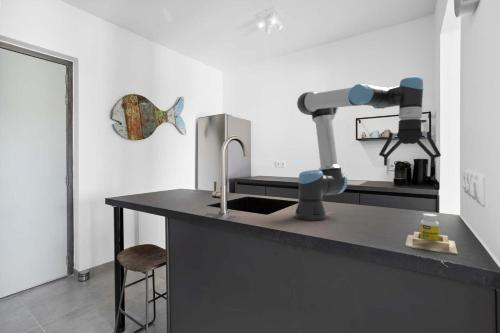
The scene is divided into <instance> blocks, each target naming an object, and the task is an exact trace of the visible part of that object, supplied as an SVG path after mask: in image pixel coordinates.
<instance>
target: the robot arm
mask: <svg viewBox="0 0 500 333" xmlns="http://www.w3.org/2000/svg"><path fill="white" fill-rule="evenodd" d="M423 80H424V79H423V78H422V77H420V76H409V77H404V78H402V79H401V80H400V81H399V82H400V83H399V85H398V86H394V87H388V88H387V87H380V86H377V85H376V86H374V85H369V84H366V83H363V84H362V83H357V84H355V85H354V86H352V87H346V88H339V89H333V90H327V91H323V92H316V91H306V92H303V93H302V94H300V95H299V97H298V99H297V102H296V105H297V106H296V107H297V108H298V110H299V112H300V113H302V114H304V115H307V116H311V119H312V122H314V123H315V129H316V136H317V145H318V155H319V163H320V167H319V168H318V169H313V170H312V169H311V170H306V171H305V170H304V171H301V172H300V173H299V174H298V181H297V182H298V203H297V206H296V209H295V211H294V212H295V213H294V215H295V216H294V217H295V218H296V219H298V220H299V219H300V220H303V221H324V220H326V219H327V213H326V212H327V211H326V209H325V206H324V203H323V196H329V195H330V196H332V195H338V194H341V193H343V192H344V191H345V190H346V189H347V187H348V177H347V174H345V172H342V167H341V166H340V165H339V164H338V158H337V157H338V156H337V150H336V141H335V133H334V127H333V126H334V125H333V120H334V119H335V116H336V114H337V112H338V109H339V108H343V107H344V108H346V107H355V106H356V107H358V106H368V107H369V106H371V107H373V108H374V109H375V110H376V109H381V110H382V109H386V108H391V107H392V108H393V107H398V108H399V110H398V119H399V120H398V130H397V131H398V132H396V133H394V132H389V133H388V138H387V140H386V141H385V143H384V145H383V147H382V149H381V150H380V152H379V154H378V156H380V157H383V166H385V167H386V175H390V173H391V170H390V169H391V157H389V156H390V155H391V154H392V153H393V152H394V151H395V150H397V149H398V147H399V146H400V145H401V144H403V145H408V144H411V145H414V144H417V145H418V146H419V147H420V148H421V149H422V150H423V151H424V153H426V154H427V155H428V157H429V158H428V160H427V177H431V168H434V167H435V163H436V162H435V159H436V158H440V157H441V156H442V155H441V152H440V151H439V149H438V147H437V145H436V143H435V141H434V139H433V137H432V132H431V131H426V132H422V122H423V121H422V118H423V97H424V96H423V94H424V93H423V92H424V81H423ZM395 137H396V138H398V140H397V142H396V143H394V145H393V146H392V147H391V148H390V149H388V148H389V146H390V144H391V142H392V141H393V139H396V138H395ZM422 137H424V138H425V139H427V140H428V142H429V144H430V146H431V148H432V150H433V151H434V153H435V154H433V152H432V151H431V150H429V148H428V147H426V145H425V144H424V143H423V142H422V141H421V140H420V139H421V138H422ZM387 149H388V151H387ZM386 151H387V152H386Z"/></svg>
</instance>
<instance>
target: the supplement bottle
mask: <svg viewBox="0 0 500 333" xmlns="http://www.w3.org/2000/svg"><path fill="white" fill-rule="evenodd" d="M419 231H420V239H427V240H435V241H439V235H440V222H438V215H437V214H434V213H422V220H421V221H420V228H419Z"/></svg>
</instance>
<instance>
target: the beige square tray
mask: <svg viewBox="0 0 500 333" xmlns="http://www.w3.org/2000/svg"><path fill="white" fill-rule="evenodd" d="M405 241H406V242H405V245H404V246H405V247H407V248H413V249H420V250H425V251H431V252H432V251H433V252H438V253H444V254H449V255H451V254H452V255H456V256H457V255H458V250H457V245H456V242H455V240H449V237H448V235H442V234H439V241H435V240H427V239H420V232H419V231H414V232H413V234H408V235H407V237H406V240H405Z"/></svg>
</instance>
